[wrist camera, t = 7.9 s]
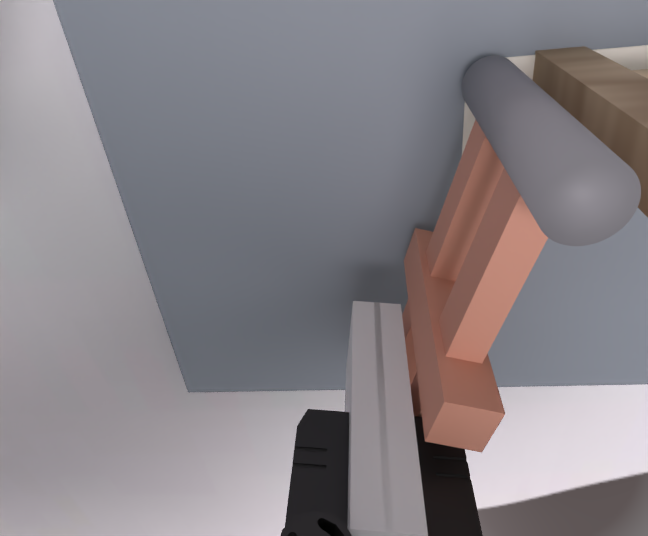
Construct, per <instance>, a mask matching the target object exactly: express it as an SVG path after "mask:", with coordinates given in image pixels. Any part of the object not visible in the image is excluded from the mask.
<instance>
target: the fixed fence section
mask: <svg viewBox="0 0 648 536" xmlns="http://www.w3.org/2000/svg"><path fill="white" fill-rule="evenodd" d="M533 81H534V82H535V83H536V84H537V85H538V86H539V87H541V88H542V89H543V90H544V91H545V92H546V93H547V94H548V95H550V96H551V97H552V98H553V99H554V100H555V101H556V102H557V103H559V104H560V105H561V106H562V107H563V108H564V109H565V110H567V111H568V112H569V113H570V114H571V115H572V116H573V117H574V118H576V119H577V120H578V121H579V122H580V123H581V124H582V125H583V126H585V127H586V128H587V129H588V130H589V131H590V132H591V133H593V134H594V135H595V136H596V137H597V138H598V139H599V140H600V141H602V142H603V143H604V144H605V145H606V146H607V147H608V148H609V149H611V150H612V151H613V152H614V153H615V154H616V155H617V156H619V157H620V158H621V159H622V160H623V161H624V162H625V163H626V164H628V165H629V166H630V167H631V168H632V169H633V170H634V171H635V173H636V174H637V176H638V178H639V181H640V185H641V198H640V202H639V205H638V208H639V209H640V210H641V211H642V212H643V213H644V214H645V215H646V216H647V217H648V69H641V70H630V69H628V68H626V67H624V66H622V65H620V64H618V63H616V62H614V61H613V60H611V59H609V58H607V57H605V56H603V55H601V54H599V53H597V52H595V51H593V50H591V49H589V48H587V47H586V46H582V47H570V48H559V49H548V50H536V51H535V63H534V72H533Z"/></svg>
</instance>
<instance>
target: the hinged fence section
mask: <svg viewBox="0 0 648 536" xmlns="http://www.w3.org/2000/svg"><path fill="white" fill-rule="evenodd" d="M462 95H463V98H464V100H465V102H466V104H467V105H468V107H469V109H470V110H471V112H472V114H473V116H474V117H475V122H474V125H473V127H472V130H471V133H470V135H469V138H468V141H467V143H466V146H465V149H464V151H463V154H462V157H461V159H460V162H459V165H458V167H457V170H456V173H455V175H454V178H453V181H452V183H451V186H450V189H449V191H448V194H447V197H446V199H445V202H444V205H443V207H442V210H441V213H440V215H439V218H438V221H437V223H436V226H435V229H434V231H433V232H432V231H427V230H422V229H418V228H415V230H414V233H413V235H412V238H411V241H410V244H409V247H408V250H407V253H406V255H405V258H404V267H405V276H406V285H407V293H408V301H407V304H406V306H405V309H404V312H403V314H402V319H403V328H404V336H405V345H406V353H407V361H408V370H409V378H410V387H411V395H412V404H413V412H414V416H420V417H422V422H423V430H424V439H425V442H431V443H436V444H441V445H446V446H451V447H457V448H462V449H467V450H472V451H478V452H482V451H483V450H484V448H485V446H486V445H487V443H488V441H489V440H490V438H491V436H492V435H493V433H494V431H495V430H496V428H497V427H498V425H499V423H500V422H501V420H502V418H503V417H504V415H505V411H504V408H503V405H502V401H501V398H500V394H499V391H498V387H497V384H496V380H495V377H494V374H493V370H492V367H491V363H490V360H489V356H488V351H489V349H490V348H491V346H492V344H493V342H494V340H495V338H496V336H497V334H498V332H499V330H500V329H501V327H502V325H503V323H504V321H505V319H506V317H507V315H508V313H509V311H510V309H511V308H512V306H513V304H514V302H515V300H516V298H517V296H518V294H519V292H520V290H521V289H522V287H523V285H524V283H525V281H526V279H527V277H528V275H529V273H530V271H531V270H532V268H533V266H534V264H535V262H536V260H537V258H538V256H539V254H540V252H541V250H542V249H543V247H544V245H545V243H546V241H547V239H548V238H549V239H551V240H553V241H554V242H557V243H559V244H562V245H567V246H586V245H591V244H595V243H598V242H600V241H603V240H605V239H607V238H609V237H611V236H612V235H614V234H615V233H617V232H618V231H619V230H621V229H622V228H623V227H624V226H625V225H626V224H627V223H628V222H629V221H630V219H631V218H632V216H633V215H634V213H635V212H636V210H637V207H638V205H639V202H640V198H641V185H640V181H639V178H638V176H637V174H636V173H635V171H634V170H633V169H632V168H631V167H630V166H629V165H628V164H626V163H625V162H624V161H623V160H622V159H621V158H620V157H619V156H617V155H616V154H615V153H614V152H613V151H612V150H611V149H609V148H608V147H607V146H606V145H605V144H604V143H603V142H602V141H600V140H599V139H598V138H597V137H596V136H595V135H594V134H593V133H591V132H590V131H589V130H588V129H587V128H586V127H585V126H583V125H582V124H581V123H580V122H579V121H578V120H577V119H576V118H574V117H573V116H572V115H571V114H570V113H569V112H568V111H567V110H565V109H564V108H563V107H562V106H561V105H560V104H559V103H557V102H556V101H555V100H554V99H553V98H552V97H551V96H550V95H548V94H547V93H546V92H545V91H544V90H543V89H542V88H541V87H539V86H538V85H537V84H536V83H535V82H534V81H533V80H531V79H530V78H529V77H528V76H527V75H526V74H525V73H524V72H522V71H521V70H520V69H519V68H518V67H517V66H516V65H515V64H513V63H512V62H511V61H510V60H509V59H507V58H505V57H502V56H498V55H492V56H486V57H484V58H481V59H479V60H478V61H476V62H475V63H474V64H472V65H471V67H470V68H469V69H468V70H467V72H466V74H465V75H464V78H463V81H462Z"/></svg>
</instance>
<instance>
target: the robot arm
mask: <svg viewBox="0 0 648 536" xmlns="http://www.w3.org/2000/svg"><path fill="white" fill-rule="evenodd" d="M281 536H482V531H481V526H480V521H479V516H478V511H477V507H476V502H475V497H474V492H473V487H472V483H471V480H470V473H469V468H468V463H467V462H466V454H465V449H462V448H457V447H451V446H446V445H441V444H436V443H431V442H425V439H424V430H423V422H422V417H420V416H414V412H413V404H412V395H411V387H410V378H409V370H408V361H407V353H406V345H405V336H404V328H403V319H402V311H401V304H390V303H377V302H363V301H353V305H352V315H351V325H350V336H349V346H348V356H347V366H346V393H345V412H339V411H326V410H312V409H308V410H307V412H306V413H305V415H304V416H303V418H302V419H301V421H300V423H299V424H298V426H297V433H296V441H295V450H294V457H293V467H292V474H291V482H290V490H289V498H288V506H287V514H286V522H285V528H284V529H283V530H282V533H281Z"/></svg>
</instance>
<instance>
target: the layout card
mask: <svg viewBox="0 0 648 536" xmlns="http://www.w3.org/2000/svg"><path fill="white" fill-rule="evenodd" d="M53 2H54V5H55V7H56V10H57V13H58V16H59V19H60V22H61V25H62V28H63V31H64V34H65V36H66V39H67V42H68V45H69V48H70V51H71V54H72V57H73V60H74V62H75V65H76V68H77V71H78V74H79V77H80V80H81V83H82V86H83V89H84V91H85V94H86V97H87V100H88V103H89V106H90V109H91V112H92V115H93V118H94V120H95V123H96V126H97V129H98V132H99V135H100V138H101V141H102V144H103V146H104V149H105V152H106V155H107V158H108V161H109V164H110V167H111V170H112V173H113V175H114V178H115V181H116V184H117V187H118V190H119V193H120V196H121V199H122V202H123V204H124V207H125V210H126V213H127V216H128V219H129V222H130V225H131V228H132V231H133V233H134V236H135V239H136V242H137V245H138V248H139V251H140V254H141V257H142V259H143V262H144V265H145V268H146V271H147V274H148V277H149V280H150V283H151V286H152V288H153V291H154V294H155V297H156V300H157V303H158V306H159V309H160V312H161V315H162V317H163V320H164V323H165V326H166V329H167V332H168V335H169V338H170V341H171V343H172V346H173V349H174V352H175V355H176V358H177V361H178V364H179V367H180V370H181V372H182V375H183V378H184V381H185V384H186V387H187V390H188V392H238V391H295V390H346V366H347V356H348V346H349V336H350V325H351V315H352V305H353V301H363V302H377V303H390V304H401V311H402V314H403V312H404V309H405V306H406V304H407V301H408V293H407V285H406V276H405V267H404V258H405V255H406V253H407V250H408V247H409V244H410V241H411V238H412V235H413V233H414V230H415V228H418V229H422V230H427V231H432V232H433V231H434V229H435V226H436V223H437V221H438V218H439V215H440V213H441V210H442V207H443V205H444V202H445V199H446V197H447V194H448V191H449V189H450V186H451V183H452V181H453V178H454V175H455V173H456V170H457V167H458V165H459V162H460V159H461V157H462V154H463V151H464V149H465V146H466V143H467V141H468V138H469V135H470V133H471V130H472V127H473V125H474V122H475V117H474V116H473V114H472V112H471V110H470V109H469V107H468V105H467V104H466V102H465V100H464V98H463V95H462V81H463V78H464V75H465V74H466V72H467V70H468V69H469V68H470V67H471V65H472V64H474V63H475V62H476V61H478V60H479V59H481V58H484V57H486V56H492V55H498V56H502V57H505V58H507V59H509V60H510V61H511V62H512V63H513V64H515V65H516V66H517V67H518V68H519V69H520V70H521V71H522V72H524V73H525V74H526V75H527V76H528V77H529V78H530V79H531V80H533V72H534V63H535V51H536V50H548V49H559V48H570V47H582V46H586V47H587V48H589V49H591V50H593V51H595V52H597V53H599V54H601V55H603V56H605V57H607V58H609V59H611V60H613V61H614V62H616V63H618V64H620V65H622V66H624V67H626V68H628V69H630V70H641V69H648V0H53ZM488 356H489V360H490V363H491V367H492V370H493V374H494V377H495V380H496V384H497V387H520V386H576V385H632V384H648V217H647V216H646V215H645V214H644V213H643V212H642V211H641V210H640V209H639V208H638V207H637V210H636V212H635V213H634V215H633V216H632V218H631V219H630V221H629V222H628V223H627V224H626V225H625V226H624V227H623V228H622V229H621V230H619V231H618V232H617V233H615V234H614V235H612V236H611V237H609V238H607V239H605V240H603V241H600V242H598V243H595V244H591V245H586V246H567V245H562V244H559V243H557V242H554V241H553V240H551V239H549V238H548V239H547V241H546V243H545V245H544V247H543V249H542V250H541V252H540V254H539V256H538V258H537V260H536V262H535V264H534V266H533V268H532V270H531V271H530V273H529V275H528V277H527V279H526V281H525V283H524V285H523V287H522V289H521V290H520V292H519V294H518V296H517V298H516V300H515V302H514V304H513V306H512V308H511V309H510V311H509V313H508V315H507V317H506V319H505V321H504V323H503V325H502V327H501V329H500V330H499V332H498V334H497V336H496V338H495V340H494V342H493V344H492V346H491V348H490V349H489V351H488Z"/></svg>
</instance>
